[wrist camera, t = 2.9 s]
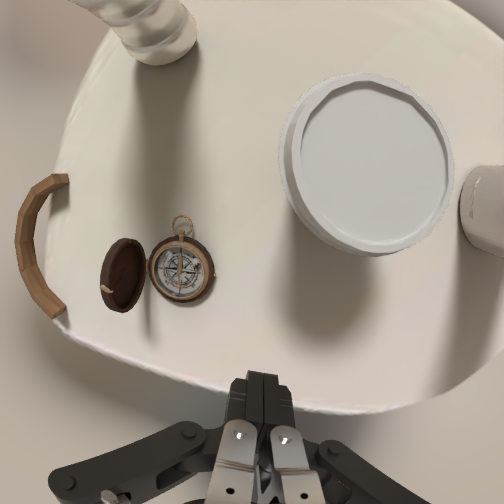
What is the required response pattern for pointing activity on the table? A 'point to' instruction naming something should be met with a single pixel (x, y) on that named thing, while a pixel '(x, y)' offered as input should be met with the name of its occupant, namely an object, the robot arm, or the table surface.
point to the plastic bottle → (148, 27)
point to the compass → (156, 271)
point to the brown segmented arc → (26, 245)
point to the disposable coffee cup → (366, 164)
